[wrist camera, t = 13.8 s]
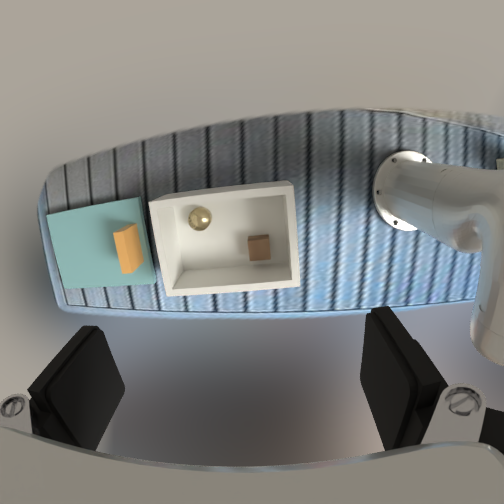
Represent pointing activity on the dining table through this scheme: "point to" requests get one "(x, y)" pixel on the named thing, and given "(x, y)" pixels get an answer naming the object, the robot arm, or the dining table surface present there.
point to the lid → (102, 245)
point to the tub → (227, 239)
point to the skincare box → (500, 164)
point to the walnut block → (259, 247)
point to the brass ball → (199, 218)
